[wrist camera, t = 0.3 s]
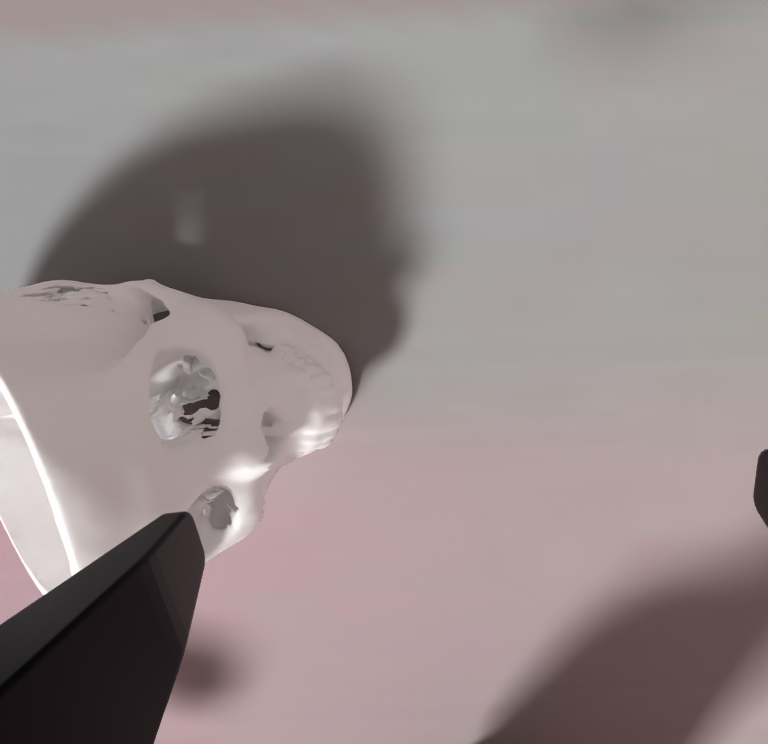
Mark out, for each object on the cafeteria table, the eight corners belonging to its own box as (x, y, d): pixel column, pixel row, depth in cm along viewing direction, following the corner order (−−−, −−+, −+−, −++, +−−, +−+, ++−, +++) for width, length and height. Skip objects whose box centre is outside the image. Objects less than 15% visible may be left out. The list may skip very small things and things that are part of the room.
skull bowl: (401, 505, 23) (139, 734, 14) (193, 438, 31) (-68, 556, 22) (390, 255, 20) (38, 331, 11) (160, 249, 28) (-163, 290, 18)
